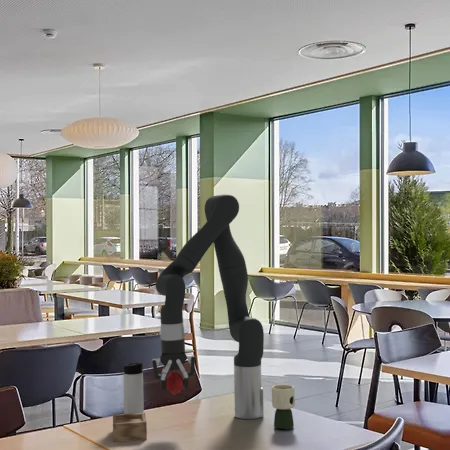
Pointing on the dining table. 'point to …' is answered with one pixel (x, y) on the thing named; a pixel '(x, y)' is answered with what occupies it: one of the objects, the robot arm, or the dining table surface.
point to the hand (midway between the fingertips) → (174, 390)
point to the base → (129, 427)
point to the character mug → (283, 405)
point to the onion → (174, 382)
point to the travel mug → (133, 388)
